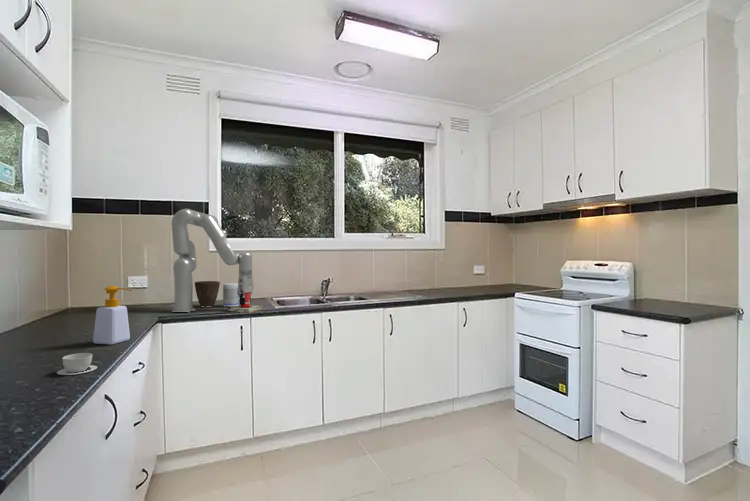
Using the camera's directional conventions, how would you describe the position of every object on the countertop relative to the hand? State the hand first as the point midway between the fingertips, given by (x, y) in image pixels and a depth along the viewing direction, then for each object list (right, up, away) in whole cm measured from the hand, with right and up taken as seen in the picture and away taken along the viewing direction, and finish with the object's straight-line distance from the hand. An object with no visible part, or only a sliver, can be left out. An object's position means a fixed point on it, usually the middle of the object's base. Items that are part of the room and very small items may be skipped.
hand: (245, 303), depth 245 cm
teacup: (-13, -5, -121) cm, 121 cm away
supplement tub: (-14, -4, +16) cm, 22 cm away
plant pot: (-28, -4, +14) cm, 32 cm away
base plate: (0, -4, 0) cm, 4 cm away
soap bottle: (-24, -5, -84) cm, 87 cm away
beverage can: (0, -3, 0) cm, 3 cm away
